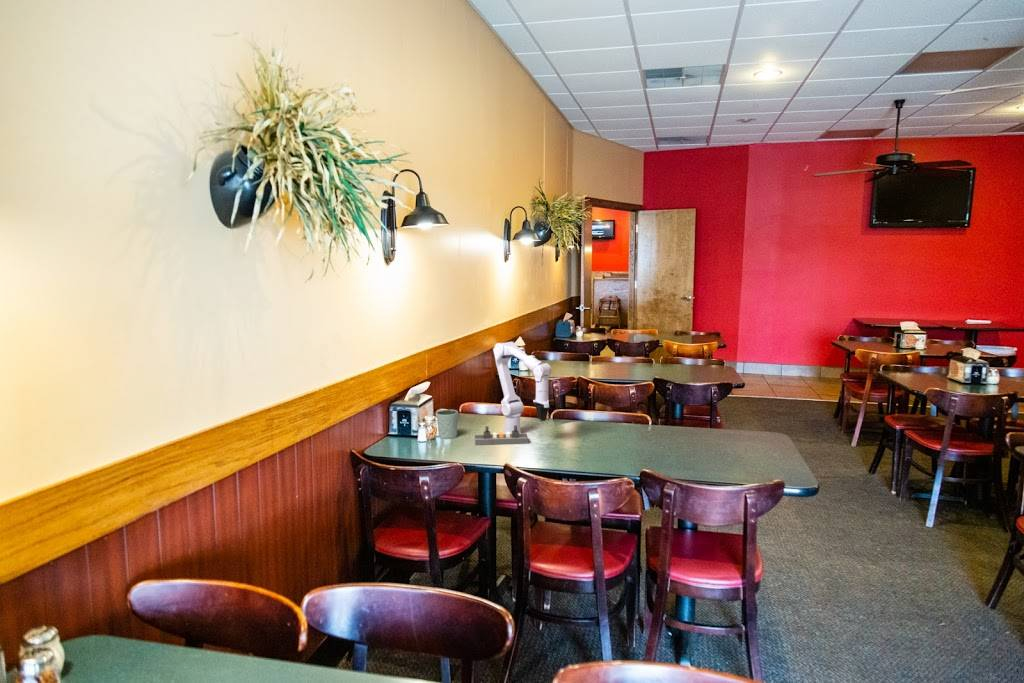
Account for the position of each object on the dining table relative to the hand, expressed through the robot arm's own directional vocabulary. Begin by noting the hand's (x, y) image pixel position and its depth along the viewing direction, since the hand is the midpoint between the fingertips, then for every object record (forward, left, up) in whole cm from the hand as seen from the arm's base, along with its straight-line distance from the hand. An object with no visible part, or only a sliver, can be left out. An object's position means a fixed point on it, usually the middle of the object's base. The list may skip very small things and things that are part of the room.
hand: (541, 419), depth 280 cm
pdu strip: (-1, -19, -10) cm, 21 cm away
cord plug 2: (-1, -12, -8) cm, 14 cm away
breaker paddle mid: (-1, -19, -8) cm, 20 cm away
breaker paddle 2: (-1, -16, -8) cm, 17 cm away
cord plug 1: (-1, -25, -8) cm, 26 cm away
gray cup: (-13, -43, -11) cm, 46 cm away
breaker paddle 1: (-1, -22, -8) cm, 23 cm away
